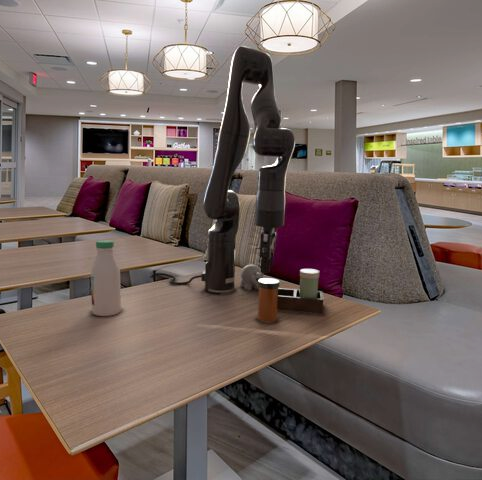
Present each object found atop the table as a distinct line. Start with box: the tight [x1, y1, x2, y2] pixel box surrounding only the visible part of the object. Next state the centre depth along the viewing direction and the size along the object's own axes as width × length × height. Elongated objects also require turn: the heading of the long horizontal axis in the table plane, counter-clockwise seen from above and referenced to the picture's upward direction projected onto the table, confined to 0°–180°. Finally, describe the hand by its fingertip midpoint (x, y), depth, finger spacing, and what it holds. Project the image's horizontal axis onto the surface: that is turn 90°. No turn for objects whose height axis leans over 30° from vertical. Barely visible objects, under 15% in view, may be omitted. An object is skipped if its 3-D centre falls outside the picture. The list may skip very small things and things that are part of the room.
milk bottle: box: [90, 239, 122, 317], centre depth 114 cm, size 8×8×20 cm
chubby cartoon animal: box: [239, 264, 265, 291], centre depth 138 cm, size 7×12×8 cm, turn 20°
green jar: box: [299, 268, 321, 299], centre depth 121 cm, size 6×6×11 cm
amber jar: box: [257, 277, 281, 323], centre depth 112 cm, size 6×6×11 cm
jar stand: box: [277, 287, 324, 315], centre depth 123 cm, size 16×8×5 cm, turn 79°
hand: (266, 268), depth 110 cm, fingers open, 8 cm apart
